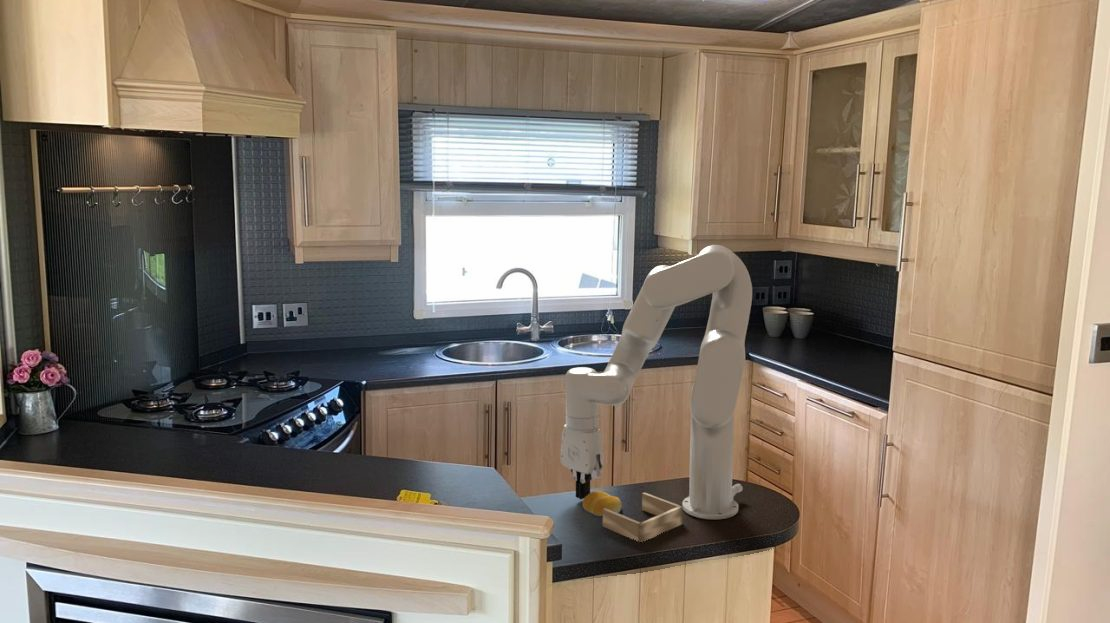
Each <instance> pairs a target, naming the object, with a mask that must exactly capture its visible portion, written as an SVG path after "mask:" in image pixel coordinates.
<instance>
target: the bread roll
mask: <svg viewBox="0 0 1110 623" xmlns="http://www.w3.org/2000/svg"><path fill="white" fill-rule="evenodd" d="M581 503H582V507H583V509H584V510H585V511H586V512H587V513H590V514H592V515H593V516H596V517H602V516H603V509H605V508H606V509H608V510H611V511H613V512H616V513H618V514H620V512H621V510H622V508H623V506H622V501H621V499H620V498H619V497H618V496H615V495H611V494H609V493H608V492H606V491H603V490H594V491H592V492H591V491H590V493H589V494H588V495H587V496H586V497H585V498H584V499H582V502H581ZM602 518H603V517H602Z"/></svg>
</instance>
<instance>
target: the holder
mask: <svg viewBox="0 0 1110 623" xmlns="http://www.w3.org/2000/svg"><path fill="white" fill-rule="evenodd" d="M641 495H642V496H641V510H642V511H644V512H646V513H649V514H651V515H654V516H653V517H650V518H648V519H647V520H643V521H641V522H640V521H637V520H635V519H633V518H630V517H629V516H626V515H623V514H621V513H616V512H613V511H611V510H608V509H606V508H605V509H603V517H602V527H603V528H606V529H608V530H609V531H611V532H614V533H617V534H619V535H621V536H624V537H626V538H628V537H629V539H630V540H633V539H634V540H633V541H635V540H636V542H638V541H639V542H638V543H640V542H642V543H644V542H646V540H647V541H648V539H649V540H650V539H653V538H655V537H657V535H658V536H660V535H661V533H662V534H663V532H664V533H666V532H668V531H670V530H672V529H675V528H677V527H680V526H682V525H683V524H684V510H683V506H682V505H679V504H677V503H675V502H672V501H669V500H666V499H663V498H660V497H658V496H655V495H653V494H650V493H647V492H642V493H641ZM665 531H666V532H665ZM659 534H660V535H659ZM643 541H644V542H643Z"/></svg>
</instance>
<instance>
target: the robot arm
mask: <svg viewBox="0 0 1110 623" xmlns="http://www.w3.org/2000/svg"><path fill="white" fill-rule="evenodd" d="M711 294H712V296H711V297H712V298H711V304H710V309H709V316H708V320H707V325H706V329H705V332H704V336H703V339H702V341H701V345H700V347H699V348H700V349H699V350H700V351H699V354H698V355H699V356H698V361H697V365H696V366H697V367H696V370H695V376H694V381H693V384H692V385H691V390H690V394H689V395H690V396H689V411H690V431H689V432H690V435H689V436H690V438H689V440H690V441H689V485H688V486H689V487H688V488H689V490H688V491H689V492H688V494H689V495H688V496H687V497H685V498H684V499H683V500H682V502H681V504H682V505H681V506H683V512H685V513H686V514H688V515H690V516H692V517H696V518H698V519H703V520H712V521H713V520H723V519H725V520H726V519H729V518H732V517H734V516H735V515H737V513H739V503H738V502H737V501H736V500H735V499H734V497H735V496H736V494H738V493H740V492H743V486H742V484H740V483H736V484H734V485H733V467H734V466H733V464H734V463H733V461H734V460H733V459H734V438H735V437H734V434H735V433H734V432H735V430H734V429H735V410H736V406H737V402H738V398H739V394H740V388H741V384H742V378H743V375H744V369H745V365H746V347H745V341H746V336H747V330H748V326H749V320H750V314H751V307H752V301H753V285H752V281H751V276H750V274H749V271H748V269H747V267H746V265H745V264H744V262H743V261H742V259H741V258H740V257H739V256H738V255H736V254H735V252H733V251H732V250H730V249H729V248H728V247H725V246H724V245H721V244H720V245H719V244H711V245H708V246H706V247H704V248H703V249H701V250H700V251H699V253H697V255H696V256H694V257H691V258H688V259H685V260H683V261H681V262H678V263H676V264H672V265H668V264H667V265H666V264H662V265H657V266H655V267H654V268H653V269H651V270H650V271H649V273H648V274H647V276H646V278H645V279H644V282H643V284H642V286H641V288H640V290H639V293H638V294H637V297H636V299H635V300H634V303H633V305H632V306H631V309H630V311H629V313H628V315H627V317H626V319H625V321H624V323H623V326H622V331H621V334H620V337H619V340H618V343H617V344H616V346H615V348H614V351H613V353H612V355H611V357H610V359H609V361H608V362H607V366H606V367H605V369H604V370H603V372H601V373H598V372H597V371H596V369H594V368H591V367H585V366H582V367H581V366H580V367H579V366H577V367H573V368H570V369H569V370H567V372H566V373H565V378H564V379H565V413H564V417H565V424H564V425H563V428H562V433H561V442H560V444H561V445H560V463H561V464H562V465H563V466H564V467H565V468H566V469H568V470H569V471H570V472H571V474H572V476H573V481H575V498H577V499H580V500H583V499H584V498H585V497H586V496H587V495H588V494H589V493H591V481H593V479H595V480H596V479H599V478H601V477H602V474H601V471H602V469H603V467H604V466H603V465H604V450H603V441H602V440H603V439H602V433H601V429H600V428H599V427H600V426H599V425H600V422H599V421H600V419H599V417H600V416H599V415H600V414H599V404H601V405H602V404H603V405H606V406H620V405H622V404H624V403H625V402H626V401H627V400H628V398H629V397H630V394H631V392H632V388H633V386H634V384H635V382H636V380H637V378H638V376H639V374H640V372H641V369H642V367H643V366H644V364H645V362H646V360H647V358H648V356H649V354H650V352H651V351H652V350H653V348H654V347H655V346H656V345H657V344H658V342H659V340H660V338H661V336H662V334H663V332H664V331H665V328H666V326H667V324H668V322H669V320H670V319H671V316H672V315H673V312H674V310H675V308H676V307H678V306H681V305H685V304H687V303H689V302H692V301H695V300H697V299H700V298H703V297H705V296H707V295H711Z"/></svg>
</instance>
